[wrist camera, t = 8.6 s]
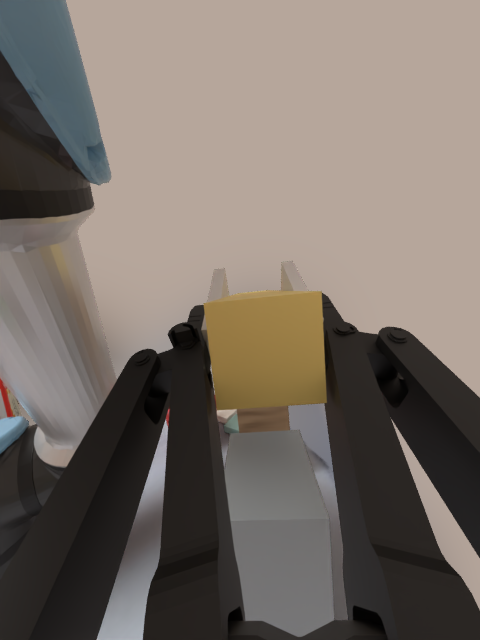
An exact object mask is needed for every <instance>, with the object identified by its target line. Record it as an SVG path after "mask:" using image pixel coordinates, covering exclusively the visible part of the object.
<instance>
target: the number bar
mask: <svg viewBox="0 0 480 640" xmlns="http://www.w3.org/2000/svg"><path fill="white" fill-rule="evenodd" d="M204 311H205V319H206V327H207V335H208V343H209V351H210V358H211V366H212V374H213V382H214V390H215V397H216V405H217V410H232V409H246V408H261V407H276V406H289V405H305V404H320V403H327V396H326V375H325V354H324V333H323V312H322V292H321V291H270V290H266V291H257V292H247V293H238V294H235V295H231V296H228V297H224V298H221V299H217V300H214V301H210V302H207V303H204Z"/></svg>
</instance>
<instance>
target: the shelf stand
mask: <svg viewBox="0 0 480 640" xmlns="http://www.w3.org/2000/svg"><path fill="white" fill-rule="evenodd" d="M237 417H238V426H239V433H250V432H269V431H287V430H290V426H289V412H288V406H276V407H261V408H246V409H237Z"/></svg>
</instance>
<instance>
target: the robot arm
mask: <svg viewBox="0 0 480 640" xmlns="http://www.w3.org/2000/svg"><path fill="white" fill-rule="evenodd" d="M110 179H111V172H110V168H109V163H108V160H107V156H106V152H105V148H104V144H103V141H102V138H101V134H100V129H99V123H98V119H97V115H96V112H95V107H94V104H93V100H92V96H91V93H90V89H89V85H88V81H87V77H86V74H85V70H84V66H83V62H82V59H81V55H80V51H79V48H78V44H77V41H76V36H75V33H74V29H73V25H72V22H71V18H70V15H69V11H68V7H67V4H66V0H0V379H1V380H2V381H3V383H4V384H5V385H6V386H7V388H8V389H9V390H10V391H11V393H12V394H13V395H14V396H15V398H16V399H17V400H18V401H19V403H20V404H21V405H22V406H23V408H24V409H25V410H26V411H27V413H28V414H29V415H30V416H31V418H32V419H33V420H34V421H35V423H36V425H32V426H29V421H28V420H26V419H25V418H24V417H22V416H16V417H8V418H4V419H0V640H96V639H97V636H98V633H99V630H100V627H101V624H102V621H103V618H104V615H105V611H106V608H107V605H108V602H109V599H110V595H111V592H112V589H113V586H114V583H115V579H116V576H117V573H118V570H119V567H120V563H121V560H122V557H123V554H124V551H125V547H126V544H127V541H128V538H129V535H130V531H131V528H132V525H133V522H134V519H135V515H136V512H137V509H138V506H139V503H140V499H141V496H142V493H143V490H144V486H145V483H146V480H147V477H148V474H149V470H150V467H151V464H152V461H153V458H154V454H155V451H156V448H157V445H158V442H159V438H160V435H161V432H162V429H163V426H164V422H165V419H166V416H167V413H168V410H169V425H168V441H167V456H166V472H165V487H164V503H163V518H162V534H161V549H160V559H159V563H158V568H157V570H156V572H155V575H154V577H153V579H152V581H151V585H150V589H149V594H148V598H147V605H146V613H145V622H144V633H143V640H480V610H479V608H478V606H477V604H476V602H475V600H474V598H473V595H472V593H471V592H470V590H469V589H468V587H467V586H466V584H465V582H464V581H463V579H462V578H461V576H460V575H459V574H458V573H457V572H456V571H455V570H454V569H453V568H452V567H451V566H450V565H449V564H448V562H447V561H446V560H445V558H444V556H443V555H442V553H441V551H440V549H439V546H438V544H437V541H436V539H435V536H434V533H433V531H432V528H431V526H430V523H429V520H428V517H427V515H426V512H425V509H424V507H423V504H422V501H421V499H420V496H419V493H418V490H417V488H416V485H415V483H414V480H413V477H412V474H411V472H410V469H409V466H408V463H407V461H406V458H405V455H404V453H403V450H402V447H401V445H400V442H399V439H398V437H397V434H396V431H395V429H394V426H393V423H392V421H391V419H392V420H393V422H394V423H395V425H396V427H397V428H398V430H399V431H400V433H401V434H402V436H403V438H404V439H405V441H406V442H407V444H408V445H409V447H410V449H411V450H412V452H413V453H414V455H415V457H416V458H417V460H418V461H419V463H420V464H421V466H422V468H423V469H424V471H425V472H426V474H427V476H428V477H429V479H430V480H431V482H432V483H433V485H434V487H435V488H436V490H437V491H438V493H439V494H440V496H441V498H442V499H443V501H444V502H445V504H446V506H447V507H448V509H449V510H450V512H451V513H452V515H453V517H454V518H455V520H456V521H457V523H458V525H459V526H460V528H461V529H462V531H463V532H464V534H465V536H466V537H467V539H468V540H469V542H470V543H471V545H472V547H473V548H474V550H475V551H476V553H477V555H478V556H479V558H480V398H479V397H478V396H477V395H476V394H475V393H474V392H473V391H472V390H471V389H470V388H469V387H468V386H467V385H465V383H463V382H462V381H461V380H460V379H459V378H458V377H457V376H456V375H455V374H454V373H453V372H452V371H451V370H450V369H449V368H447V366H445V365H444V364H443V363H442V362H441V361H440V360H439V359H438V358H437V357H436V356H435V355H434V354H433V353H432V352H431V351H429V350H428V349H427V348H426V347H425V346H424V345H423V344H422V343H421V342H420V341H419V340H418V339H417V338H416V337H415V336H414V335H412V334H411V333H410V332H408V331H406V330H404V329H401V328H397V327H385V328H382V329H381V330H380V331H379V333H378V334H369V333H363V332H359V331H358V330H357V328H356V327H355V326H353V325H352V324H350V323H347V322H344V321H343V319H342V318H341V316H340V314H339V313H338V312H337V310H336V308H335V307H334V305H333V304H332V303H331V301H330V299H329V298H328V296H326V295H324V294H323V293H322V312H323V333H324V354H325V375H326V396H327V403H325V411H326V419H327V426H328V434H329V442H330V449H331V457H332V465H333V472H334V480H335V488H336V495H337V503H338V511H339V518H340V526H341V534H342V541H343V578H344V588H345V596H346V604H347V612H348V620H333V621H331V622H330V623H328V624H326V625H324V626H322V627H320V628H318V629H316V630H314V631H312V632H310V633H308V634H306V635H304V636H302V637H297V636H295V635H292V634H290V633H288V632H286V631H284V630H282V629H279V628H277V627H275V626H273V625H271V624H268V623H266V622H264V621H246V619H245V611H244V604H243V596H242V589H241V582H240V575H239V570H238V565H237V561H236V556H235V551H234V544H233V536H232V528H231V521H230V513H229V505H228V497H227V489H226V482H225V474H224V466H223V458H222V450H221V443H220V435H219V427H218V419H217V411H216V404H215V396H214V388H213V381H212V374H211V371H210V366H211V358H210V351H209V343H208V335H207V327H206V319H205V311H204V305H198V306H195V307H194V308H193V309H192V310H191V311H190V315H189V318H188V322H185V323H180V324H177V325H176V326H174V327H172V328H171V330H170V331H169V333H168V336H169V339H170V341H171V343H172V345H173V349H170V350H168V351H165V352H162V353H159V354H157V353H156V351H154V350H152V349H145V350H141V351H139V352H137V353H135V354H134V355H133V356H132V357H131V358H130V359H129V361H128V362H127V364H126V366H125V367H124V369H123V371H122V373H121V374H120V376H119V378H118V379H117V378H116V375H115V371H114V367H113V363H112V360H111V356H110V352H109V348H108V345H107V341H106V337H105V334H104V331H103V326H102V323H101V319H100V316H99V311H98V308H97V304H96V300H95V297H94V293H93V289H92V285H91V282H90V279H89V275H88V271H87V268H86V264H85V260H84V256H83V252H82V248H81V245H80V241H79V238H78V234H77V233H78V228H79V227H80V226H81V225H82V223H84V222H85V220H86V219H87V218H88V217H89V216H90V215H91V214H92V213H93V212H94V210H95V208H94V202H93V197H92V192H91V187H90V183H93V184H97V185H101V184H102V183H107V182H109V181H110ZM281 271H282V273H281V291H309V290H308V289H307V287H306V285H305V283H304V281H303V279H302V277H301V276H300V274H299V272H298V270H297V268H296V266H295V264H294V263H293V261H287V262H282V269H281ZM228 296H229V291H228V286H227V280H226V274H225V269H215V270H214V272H213V278H212V282H211V287H210V291H209V296H208V301H207V302H210V301H214V300H217V299H221V298H224V297H228ZM169 406H170V409H169ZM390 417H391V418H390Z"/></svg>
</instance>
